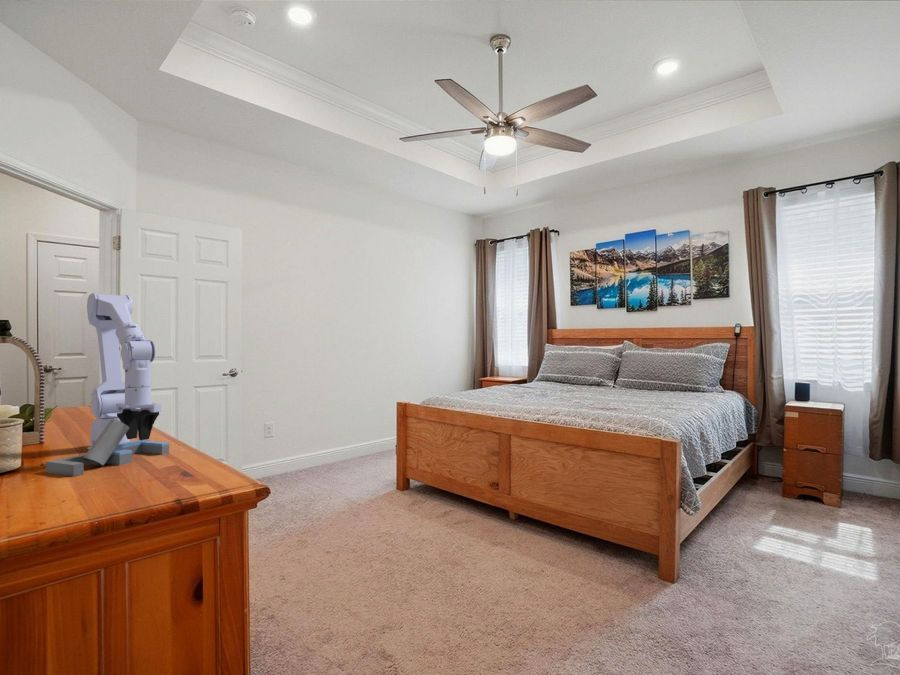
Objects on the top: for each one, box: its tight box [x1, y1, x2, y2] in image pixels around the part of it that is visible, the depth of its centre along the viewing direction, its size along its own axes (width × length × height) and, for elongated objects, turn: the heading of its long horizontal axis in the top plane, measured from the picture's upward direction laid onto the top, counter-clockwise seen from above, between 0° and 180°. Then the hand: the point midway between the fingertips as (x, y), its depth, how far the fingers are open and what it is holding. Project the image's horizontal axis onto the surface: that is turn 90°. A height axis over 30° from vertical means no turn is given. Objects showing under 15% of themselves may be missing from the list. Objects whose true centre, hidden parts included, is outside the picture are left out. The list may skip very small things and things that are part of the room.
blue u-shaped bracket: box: [112, 439, 170, 455], centre depth 122 cm, size 10×13×1 cm
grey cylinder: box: [83, 420, 129, 467], centre depth 115 cm, size 4×4×10 cm
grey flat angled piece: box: [45, 444, 170, 477], centre depth 117 cm, size 10×23×2 cm, turn 158°
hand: (138, 439), depth 122 cm, fingers open, 4 cm apart
